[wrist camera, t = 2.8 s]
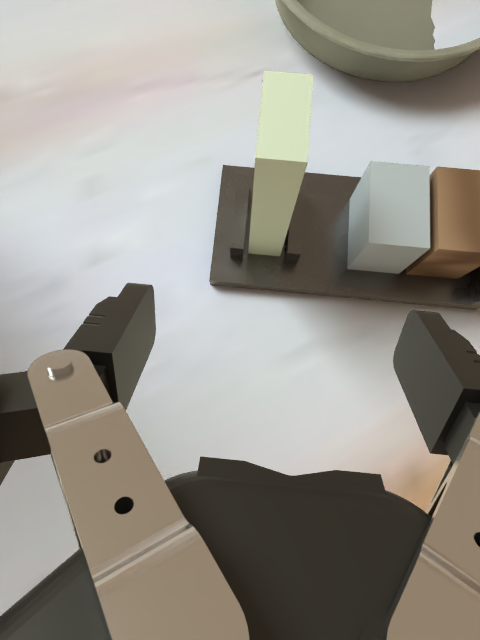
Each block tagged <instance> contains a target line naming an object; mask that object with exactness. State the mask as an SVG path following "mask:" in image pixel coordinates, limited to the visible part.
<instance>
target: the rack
mask: <svg viewBox="0 0 480 640" xmlns="http://www.w3.org/2000/svg"><path fill="white" fill-rule="evenodd" d="M254 171H255V168H250V167H239V166H228V165H223V170H222V178H221V187H220V195H219V204H218V212H217V221H216V229H215V238H214V246H213V255H212V264H211V272H210V285H221V286H232V287H242V288H253V289H264V290H274V291H285V292H296V293H306V294H317V295H328V296H338V297H349V298H360V299H370V300H381V301H392V302H402V303H413V304H424V305H434V306H445V307H456V308H466V309H478V308H480V266H479V267H478V268H476V269H474V270H472V271H471V272H469V273H467V274H465V275H464V276H462V277H460V278H458V279H452V278H441V277H431V276H420V275H409V274H406V268H405V269H404V270H403V271H402V272H400V273H399V274H395V273H384V272H373V271H362V270H352V269H347V260H348V233H349V206H350V198H351V196H352V194H353V192H354V190H355V189H356V187H357V185H358V183H359V181H360V180H361V177H350V176H339V175H327V174H316V173H304V176H303V180H302V183H301V187H300V190H299V193H298V197H297V200H296V204H295V207H294V210H293V214H292V217H291V221H290V224H289V227H288V231H287V234H286V238H285V241H284V244H283V248H282V251H281V255H280V256H271V255H260V254H249V253H248V248H249V235H250V222H251V209H252V197H253V184H254Z"/></svg>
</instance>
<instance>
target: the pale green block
mask: <svg viewBox="0 0 480 640" xmlns="http://www.w3.org/2000/svg"><path fill="white" fill-rule="evenodd" d="M312 86H313V75H310V74H298V73H287V72H275V71H264V75H263V86H262V96H261V106H260V117H259V127H258V137H257V147H256V158H255V171H254V184H253V197H252V209H251V222H250V235H249V248H248V253H249V254H260V255H271V256H280V255H281V251H282V248H283V244H284V241H285V238H286V234H287V231H288V227H289V224H290V221H291V217H292V214H293V210H294V207H295V204H296V200H297V197H298V193H299V190H300V187H301V183H302V180H303V176H304V173H305V169H306V166H307V163H308V148H309V133H310V117H311V102H312Z"/></svg>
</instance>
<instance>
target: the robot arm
mask: <svg viewBox="0 0 480 640" xmlns="http://www.w3.org/2000/svg"><path fill="white" fill-rule="evenodd" d="M155 333H156V323H155V303H154V289H153V286H152V285H146V284H136V283H127V284H126V285H125V287H124V288H123V290H122V291H121V293H120V294H119V296H118V297H108V298H106V299H105V300H103V301H101V302H100V303H98V304H96V306H95V307H94V308H93V310H92V311H91V312H90V314H89V316H88V317H87V318H86V319H85V321H84V322H83V324H82V325H81V326H80V327H79V329H78V330H77V331H76V333H75V334H74V335H73V337H72V338H71V339H70V341H69V342H68V343H67V345H66V346H65V348H64V349H63V350H58V351H53V352H50V353H47V354H45V355H43V356H41V357H39V358H38V359H36V360H35V361H34V362H33V363H32V364H31V365H30V367H29V369H28V371H26V372H19V373H10V374H2V375H0V485H1V483H2V482H3V480H4V478H5V476H6V475H7V473H8V471H9V469H10V468H11V466H12V464H13V463H14V461H15V460H19V459H25V458H31V457H36V456H42V455H48V454H51V458H52V461H53V464H54V467H55V470H56V474H57V477H58V480H59V483H60V487H61V490H62V493H63V496H64V499H65V503H66V506H67V509H68V512H69V516H70V519H71V522H72V526H73V529H74V532H75V536H76V539H77V542H78V546H79V550H78V551H77V552H75V553H74V554H73V555H72V556H71V557H69V558H68V559H67V560H66V561H65V562H64V563H62V564H61V565H60V566H59V567H58V568H57V569H55V570H54V571H53V572H52V573H51V574H49V575H48V576H47V577H46V578H45V579H44V580H42V581H41V582H40V583H39V584H38V585H37V586H35V587H34V588H33V589H32V590H31V591H29V592H28V593H27V594H26V595H25V596H24V597H22V598H21V599H20V600H19V601H18V602H17V603H15V604H14V605H13V606H12V607H11V608H9V609H8V610H7V611H6V612H5V613H4V614H2V615H1V616H0V640H480V356H479V354H477V352H476V350H475V349H474V348H473V346H472V345H471V344H470V342H469V341H468V340H467V339H465V338H464V337H463V336H461V335H460V334H459V333H457V332H456V331H455V330H451V329H450V328H449V326H448V325H447V324H446V322H445V321H444V319H443V318H442V317H441V315H440V314H439V313H436V312H425V311H415V310H413V311H411V312H410V313H409V314H408V316H407V318H406V321H405V324H404V327H403V329H402V332H401V335H400V338H399V340H398V343H397V346H396V349H395V352H394V359H393V363H394V369H395V372H396V374H397V377H398V379H399V381H400V384H401V386H402V388H403V391H404V393H405V395H406V398H407V400H408V402H409V405H410V407H411V409H412V412H413V414H414V416H415V419H416V421H417V424H418V426H419V428H420V431H421V433H422V435H423V438H424V440H425V442H426V445H427V447H428V449H429V452H430V453H432V454H442V455H449V457H450V459H451V461H450V462H449V464H448V466H447V468H446V470H445V472H444V474H443V476H442V478H441V480H440V482H439V484H438V486H437V488H436V490H435V493H434V495H433V497H432V499H431V501H430V503H429V505H428V507H427V509H426V511H425V512H424V511H423V510H422V509H420V508H419V507H417V506H416V505H414V504H413V503H411V502H409V501H408V500H406V499H404V498H402V497H400V496H398V495H396V494H393V493H391V492H389V491H386V490H385V488H384V485H383V481H382V478H381V475H380V474H370V473H360V472H350V471H339V470H334V471H327V472H319V473H312V474H305V475H297V476H289V475H285V474H282V473H279V472H276V471H273V470H270V469H267V468H264V467H261V466H258V465H255V464H252V463H249V462H246V461H239V460H229V459H219V458H209V457H200V462H199V468H198V471H192V472H187V473H183V474H180V475H177V476H174V477H172V478H169V479H167V480H165V481H164V480H163V478H162V476H161V474H160V472H159V471H158V469H157V467H156V465H155V463H154V461H153V460H152V458H151V456H150V454H149V452H148V451H147V449H146V447H145V445H144V443H143V442H142V440H141V438H140V436H139V434H138V432H137V431H136V429H135V427H134V425H133V423H132V422H131V420H130V418H129V416H128V414H127V412H126V409H127V406H128V404H129V402H130V399H131V397H132V395H133V392H134V390H135V387H136V385H137V383H138V380H139V378H140V376H141V373H142V371H143V368H144V366H145V364H146V361H147V359H148V357H149V354H150V352H151V349H152V347H153V344H154V340H155Z"/></svg>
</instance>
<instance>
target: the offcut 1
mask: <svg viewBox="0 0 480 640" xmlns="http://www.w3.org/2000/svg"><path fill="white" fill-rule="evenodd" d="M429 249H430V183H429V166H420V165H409V164H398V163H387V162H376V161H370V163H369V165H368V167H367V169H366V170H365V172H364V174H363V176H362V178H361V180H360V181H359V183H358V185H357V187H356V189H355V190H354V192H353V194H352V196H351V198H350V206H349V233H348V260H347V269H352V270H362V271H373V272H384V273H395V274H399V273H400V272H402V271H403V270H404V269H405V268H407V267H408V266H409V265H410V264H412V263H413V262H414V261H415V260H417V259H418V258H419V257H420V256H421V255H423V254H424V253H425V252H426V251H428V250H429Z"/></svg>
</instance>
